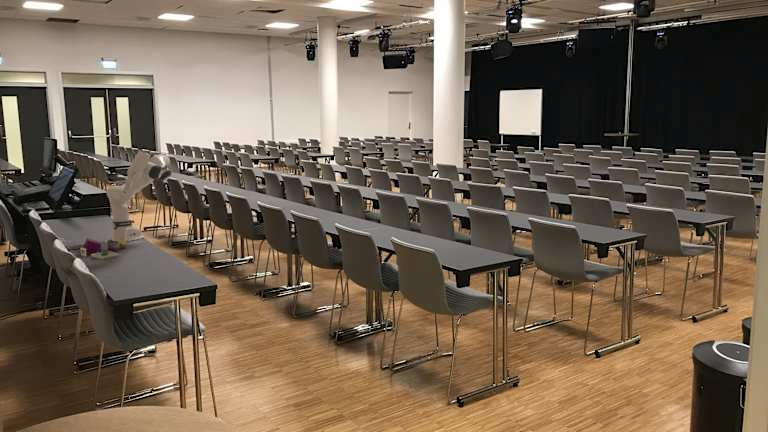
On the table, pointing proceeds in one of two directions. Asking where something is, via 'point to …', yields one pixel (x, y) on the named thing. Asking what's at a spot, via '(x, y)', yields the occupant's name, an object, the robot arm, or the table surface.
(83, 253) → the label tile
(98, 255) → the parts tray
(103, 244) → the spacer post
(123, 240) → the gold metallic cylinder
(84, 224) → the table surface
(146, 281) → the table surface
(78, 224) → the table surface
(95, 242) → the mounting bracket
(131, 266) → the table surface
